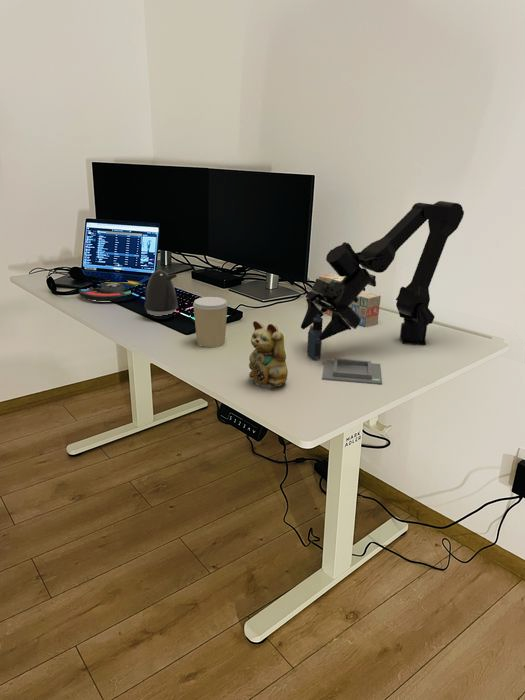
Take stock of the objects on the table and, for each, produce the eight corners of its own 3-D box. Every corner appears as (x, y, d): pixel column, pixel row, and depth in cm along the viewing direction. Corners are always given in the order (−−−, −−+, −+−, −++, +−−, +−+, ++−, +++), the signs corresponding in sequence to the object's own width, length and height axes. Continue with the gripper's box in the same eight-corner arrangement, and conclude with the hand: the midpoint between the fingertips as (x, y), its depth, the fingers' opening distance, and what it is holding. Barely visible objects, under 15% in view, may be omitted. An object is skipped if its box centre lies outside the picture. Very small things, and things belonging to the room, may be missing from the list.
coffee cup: (232, 339, 154) (232, 298, 150) (221, 350, 146) (220, 307, 142) (201, 335, 157) (200, 295, 152) (188, 346, 148) (187, 303, 144)
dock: (380, 365, 138) (380, 359, 138) (382, 384, 127) (382, 378, 127) (324, 361, 140) (325, 355, 140) (321, 379, 129) (322, 373, 129)
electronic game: (131, 285, 211) (130, 273, 209) (156, 299, 193) (155, 286, 191) (71, 293, 198) (70, 280, 197) (92, 308, 181) (90, 294, 179)
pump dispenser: (173, 323, 166) (171, 274, 161) (140, 321, 168) (137, 273, 163) (182, 314, 176) (181, 267, 171) (152, 312, 177) (149, 266, 172)
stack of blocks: (378, 324, 171) (382, 285, 166) (365, 327, 167) (368, 288, 163) (329, 308, 186) (332, 272, 182) (316, 311, 183) (318, 275, 178)
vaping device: (312, 361, 140) (315, 316, 136) (305, 354, 145) (308, 310, 140) (322, 360, 140) (324, 316, 136) (314, 353, 145) (317, 310, 141)
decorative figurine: (242, 382, 126) (242, 321, 121) (262, 371, 133) (263, 312, 128) (277, 393, 121) (279, 329, 116) (296, 381, 128) (298, 320, 123)
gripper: (313, 260, 144) (275, 305, 143) (354, 275, 128) (311, 325, 127) (336, 287, 150) (299, 329, 149) (378, 304, 134) (337, 352, 133)
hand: (310, 333), depth 140 cm, fingers open, 9 cm apart
